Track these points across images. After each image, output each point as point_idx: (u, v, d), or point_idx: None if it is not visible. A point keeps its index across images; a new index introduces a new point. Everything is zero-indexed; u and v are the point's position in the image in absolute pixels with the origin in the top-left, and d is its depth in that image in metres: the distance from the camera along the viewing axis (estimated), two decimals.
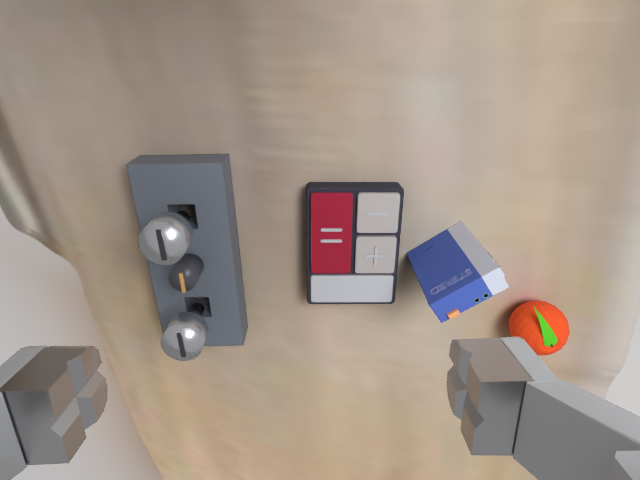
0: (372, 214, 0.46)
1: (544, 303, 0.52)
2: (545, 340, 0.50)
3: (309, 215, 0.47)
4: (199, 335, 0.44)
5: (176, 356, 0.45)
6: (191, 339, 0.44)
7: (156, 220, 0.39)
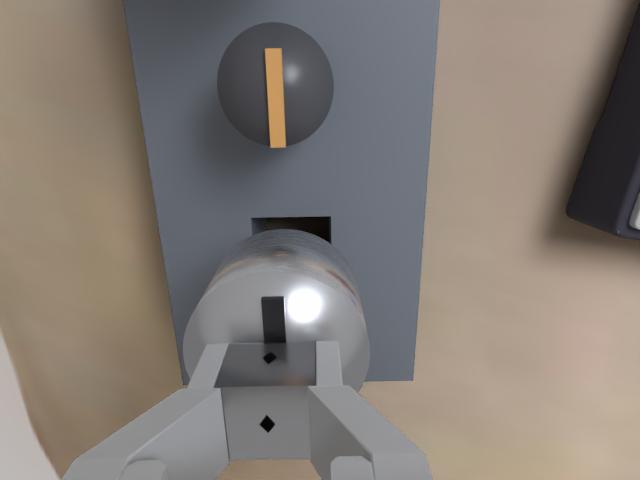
0: None
1: None
2: None
3: None
4: (359, 312, 0.10)
5: None
6: (326, 330, 0.09)
7: None
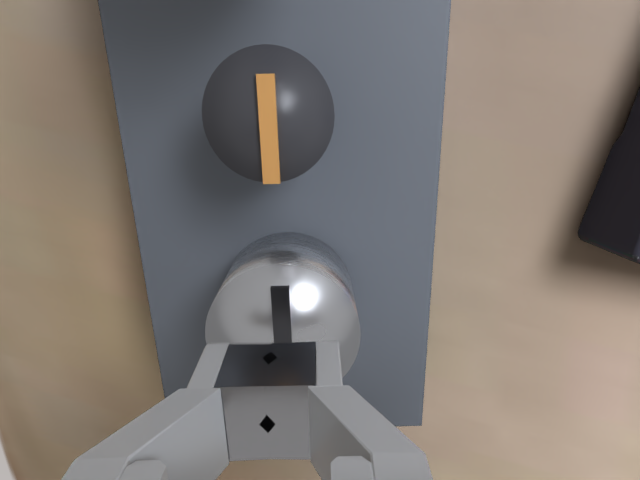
0: None
1: None
2: None
3: None
4: (351, 299, 0.12)
5: None
6: (323, 314, 0.11)
7: None
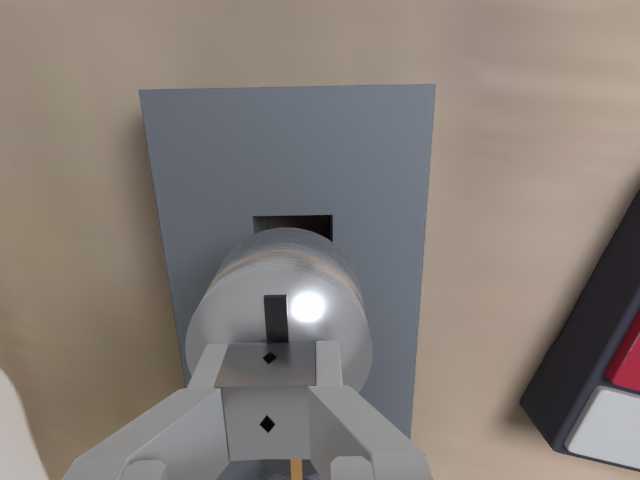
0: None
1: None
2: None
3: None
4: None
5: None
6: None
7: (260, 257, 0.10)
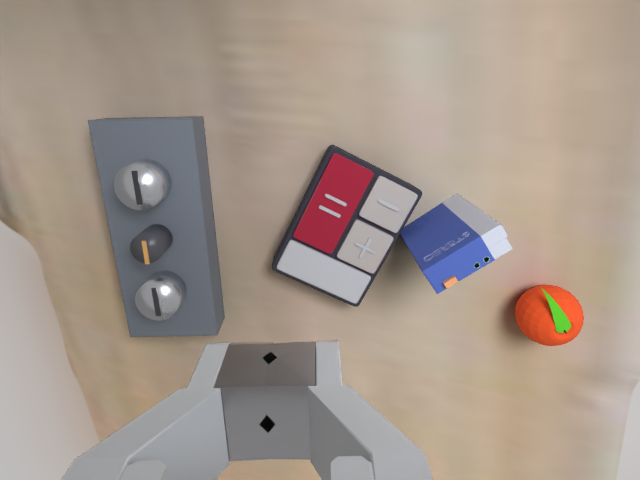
0: (383, 203, 0.43)
1: (553, 286, 0.47)
2: (557, 325, 0.44)
3: (320, 175, 0.43)
4: (175, 291, 0.43)
5: (151, 315, 0.43)
6: (166, 295, 0.42)
7: (133, 163, 0.39)
